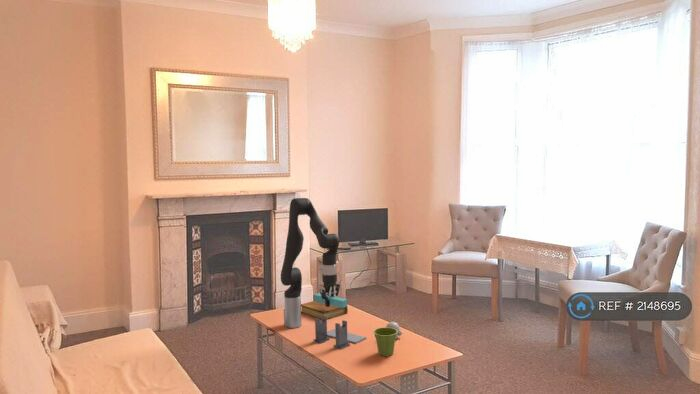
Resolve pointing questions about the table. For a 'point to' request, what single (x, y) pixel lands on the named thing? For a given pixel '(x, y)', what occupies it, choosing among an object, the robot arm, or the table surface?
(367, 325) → the table surface
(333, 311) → the diary
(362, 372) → the table surface
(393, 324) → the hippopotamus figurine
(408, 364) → the table surface
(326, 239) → the robot arm
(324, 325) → the bracket stand
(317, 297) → the rail bar
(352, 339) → the rubber mat
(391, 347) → the plant pot
